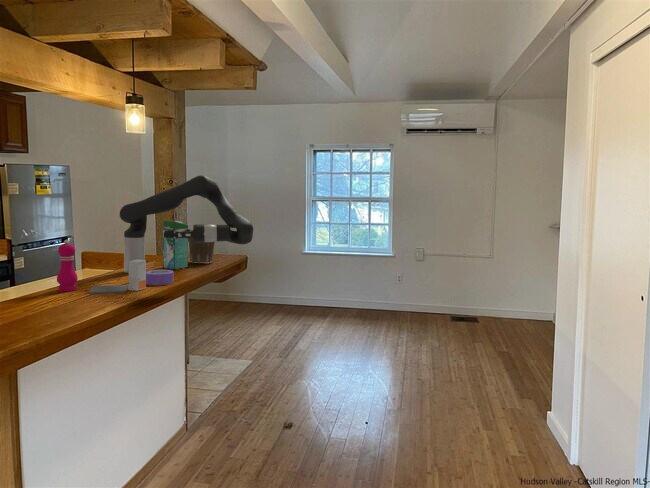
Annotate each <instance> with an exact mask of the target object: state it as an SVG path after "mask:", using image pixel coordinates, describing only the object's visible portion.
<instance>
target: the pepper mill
mask: <svg viewBox="0 0 650 488" xmlns="http://www.w3.org/2000/svg"><path fill="white" fill-rule="evenodd" d="M57 253H58V254H59V255H60V256H59V261H60V268H59V270H58V273H57V275H56V282H57V283H58V284H59V285H58V288H57V290H58V291H59V292H63V291H67V292H74V291H76V290H77V284H76V283H77V282H78V273H77V272H76V270H75V267H74V260H75V256H74V254H75V253H76V247H75V245H73V244H71V243H70V240H68V239H65V240H64V241H63V244H60V245H59V246H58V248H57ZM73 290H74V291H73Z"/></svg>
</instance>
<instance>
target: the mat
mask: <svg viewBox="0 0 650 488" xmlns="http://www.w3.org/2000/svg"><path fill="white" fill-rule="evenodd" d="M128 290H129V284H127V285H125V284H124V285H123V284H120V285H118V284H117V285H116V284H115V285H94V286H92V287H91V289H90V290H89V291H88V294H121V293H122V294H125V293H127V291H128Z"/></svg>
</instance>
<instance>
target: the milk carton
mask: <svg viewBox="0 0 650 488" xmlns="http://www.w3.org/2000/svg"><path fill="white" fill-rule="evenodd" d="M177 229H178V230H179V229H189V225H188V224H185V223H183V221H180V220H174V221H172V220H164V219H163V220H162V268H163V267H164V269H168V268H171V269H170V270H173V269H176V270H179V269H178V268H183V267H188V266H189V242H188V239H184V238H183V239H179V238H174V237H170V238H165V237H164V232H165V231H166V230H174V231H175V230H177ZM188 268H189V267H188ZM183 269H184V268H183Z"/></svg>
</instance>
